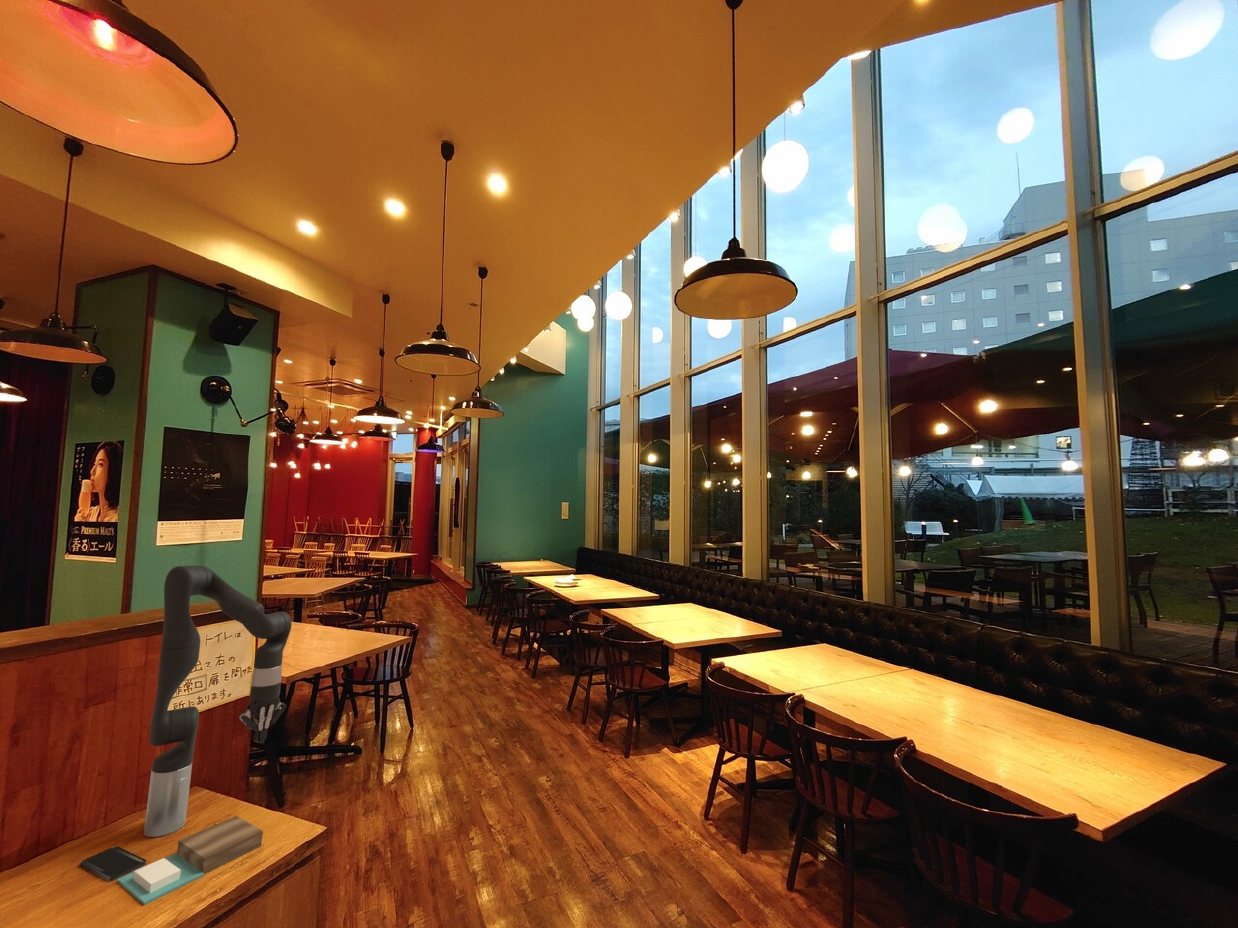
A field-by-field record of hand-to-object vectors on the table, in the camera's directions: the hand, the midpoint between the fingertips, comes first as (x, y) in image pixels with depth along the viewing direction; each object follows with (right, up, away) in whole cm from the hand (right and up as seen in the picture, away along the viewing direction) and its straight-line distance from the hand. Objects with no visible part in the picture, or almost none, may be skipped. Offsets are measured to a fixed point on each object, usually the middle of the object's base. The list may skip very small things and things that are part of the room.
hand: (259, 741), depth 155 cm
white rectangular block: (-9, -21, -24) cm, 33 cm away
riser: (-3, -24, -11) cm, 27 cm away
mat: (-9, -22, -23) cm, 33 cm away
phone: (-26, -23, -19) cm, 39 cm away
